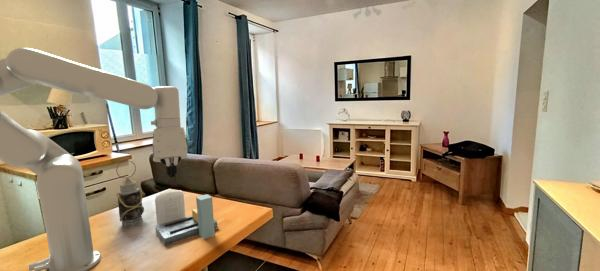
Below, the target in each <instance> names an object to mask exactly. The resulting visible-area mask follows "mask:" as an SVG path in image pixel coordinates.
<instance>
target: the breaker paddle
mask: <svg viewBox="0 0 600 271" xmlns="http://www.w3.org/2000/svg"><path fill="white" fill-rule="evenodd" d="M191 212H192V215H193V219H194V220H195V221H196V222H197V223H198V214H197V207H196V208H193V209H191ZM192 215H191V216H192Z"/></svg>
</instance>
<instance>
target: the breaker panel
mask: <svg viewBox="0 0 600 271" xmlns="http://www.w3.org/2000/svg"><path fill="white" fill-rule="evenodd" d="M218 227H219V226H218V221H217V220H215V219H214V230H216V229H218ZM155 233H156V234H157V236H158V238H159V239H160V241H161V242H162V244H163V245H164V246H166V247H167V246H169V245H172V244H175V243H178V242H181V241H184V240H186V239H189V238H192V237H196V236H200V235H199V226H198V223H197V222H196V221H195V220H194V219H193V215H189V216H185V218H182V219H178V220H175V221H171V222H168V223H164V224H161V225H158V224H157V225H155Z"/></svg>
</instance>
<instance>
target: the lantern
mask: <svg viewBox="0 0 600 271" xmlns="http://www.w3.org/2000/svg"><path fill="white" fill-rule="evenodd" d="M124 162H130V163H132V164H133V165H134V172H133V173H132V174H131V175H130V176H126V177H125V180H123V181H122V182H120V183H119V185H118V186H119V189H120V190H117V192H116V193H115V196H117V204H118V214H119V215H118V216H119V221H120V222H121V225H122V227H124V228H131V227H132V228H133V227H135V226H138V225H140V224H142V222H143V214H144V211H145V207H144V206H143V193H142V191H141V189H140V187H138V186H137V181H135V180H132V179H130V178H131V177H132V176H134V175H135V173H136V171H137V168H136V167H137V166H136V165H135V163H134V162H133V161H132V160H128V159H127V160H124V161H121V162H120V163H119V164H117V165H116V166H117V167H116V174H117V176H118V177H119V178H121V179H124V177H123V176H120V175H119V173H118V169H119V168H118V167H119V166H120V164H122V163H124Z"/></svg>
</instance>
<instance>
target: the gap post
mask: <svg viewBox="0 0 600 271" xmlns="http://www.w3.org/2000/svg"><path fill="white" fill-rule="evenodd" d="M195 198H196V199H195V200H196V201H195V202H196V208H197V214H198V226H199V235H198V236H200V238H201V239H202V240H206V239H208V238H211V237H215V236H216V234H215V229H214V220H215V218H214V217H215V216H214V208H213V207H214V205H213V196H211V195H210V194H209V193H208V194H207V193H206V194H202V195H199V196H196V197H195Z"/></svg>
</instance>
